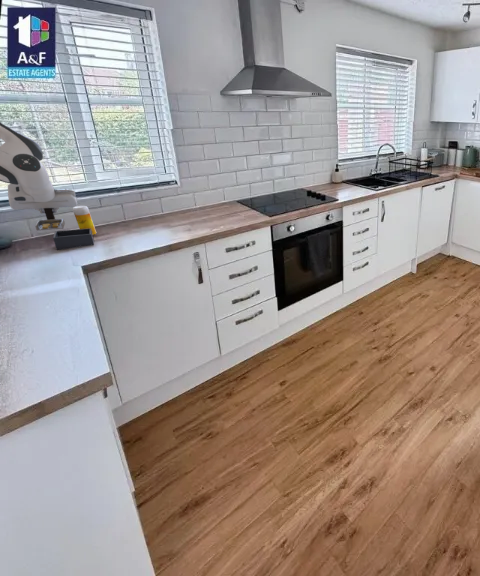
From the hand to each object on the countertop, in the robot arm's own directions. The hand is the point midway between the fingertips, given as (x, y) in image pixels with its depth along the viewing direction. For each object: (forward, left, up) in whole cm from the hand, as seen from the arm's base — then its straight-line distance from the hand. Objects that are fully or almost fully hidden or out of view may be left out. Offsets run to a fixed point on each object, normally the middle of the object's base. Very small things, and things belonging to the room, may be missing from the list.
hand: (49, 211), depth 152 cm
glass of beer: (+10, +30, -19) cm, 37 cm away
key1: (-2, -9, -4) cm, 10 cm away
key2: (+1, -8, -4) cm, 9 cm away
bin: (+5, +12, -19) cm, 23 cm away
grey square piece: (0, -7, -5) cm, 9 cm away
